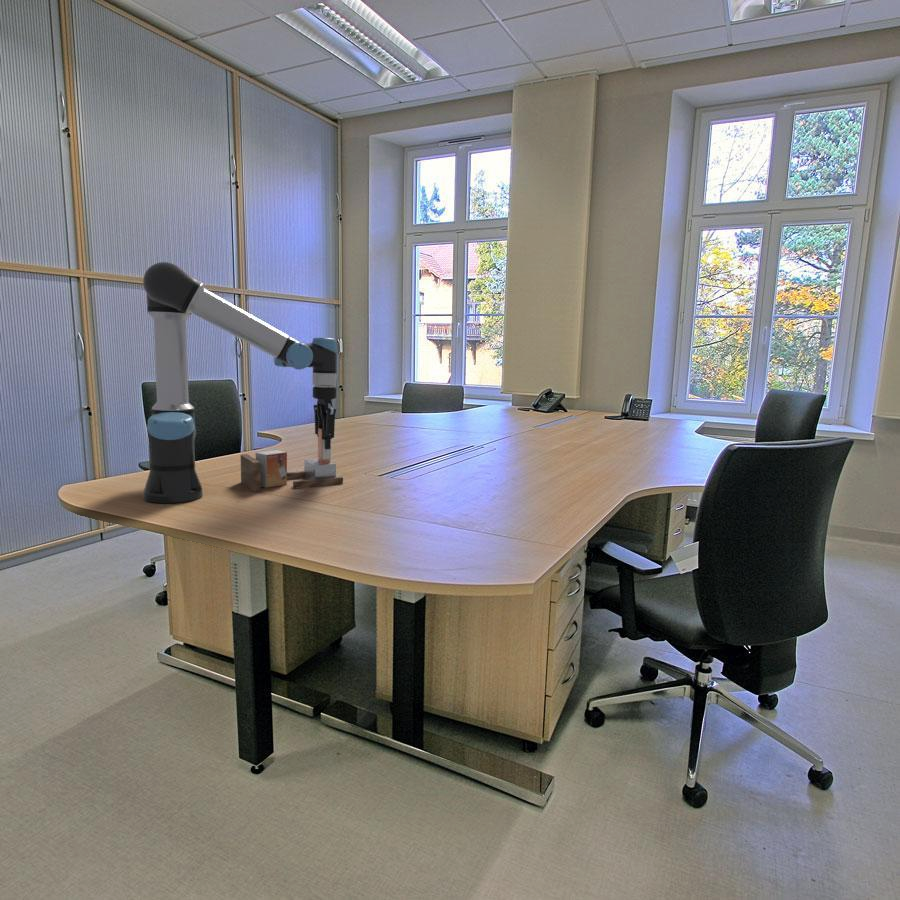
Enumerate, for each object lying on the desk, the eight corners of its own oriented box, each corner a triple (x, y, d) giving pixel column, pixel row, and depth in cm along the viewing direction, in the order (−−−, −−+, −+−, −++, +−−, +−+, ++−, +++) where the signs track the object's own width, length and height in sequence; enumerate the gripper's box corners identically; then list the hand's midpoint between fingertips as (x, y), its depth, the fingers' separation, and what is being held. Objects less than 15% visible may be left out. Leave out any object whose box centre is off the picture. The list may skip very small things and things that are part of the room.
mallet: (315, 483, 192) (315, 431, 189) (304, 477, 200) (304, 427, 197) (335, 481, 196) (336, 430, 193) (324, 476, 204) (324, 426, 201)
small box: (266, 488, 185) (265, 454, 183) (255, 485, 188) (254, 452, 186) (287, 484, 191) (287, 451, 189) (276, 481, 194) (276, 449, 192)
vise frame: (254, 492, 179) (253, 462, 178) (241, 482, 191) (240, 454, 190) (343, 483, 195) (343, 456, 193) (325, 474, 207) (326, 449, 205)
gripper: (345, 388, 189) (344, 461, 193) (326, 384, 202) (325, 453, 206) (322, 388, 185) (322, 462, 189) (304, 384, 198) (304, 454, 202)
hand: (324, 457), depth 198 cm, fingers closed on mallet, 3 cm apart
